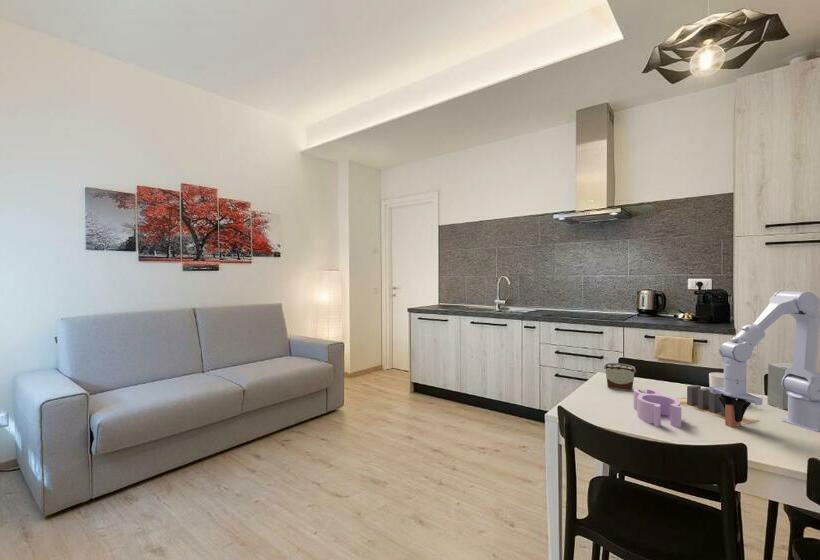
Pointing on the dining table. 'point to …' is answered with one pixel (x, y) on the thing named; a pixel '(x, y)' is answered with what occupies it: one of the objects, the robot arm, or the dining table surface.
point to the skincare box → (777, 385)
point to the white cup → (716, 379)
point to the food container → (620, 375)
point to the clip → (656, 407)
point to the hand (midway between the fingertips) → (734, 419)
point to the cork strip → (744, 421)
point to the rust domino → (730, 416)
